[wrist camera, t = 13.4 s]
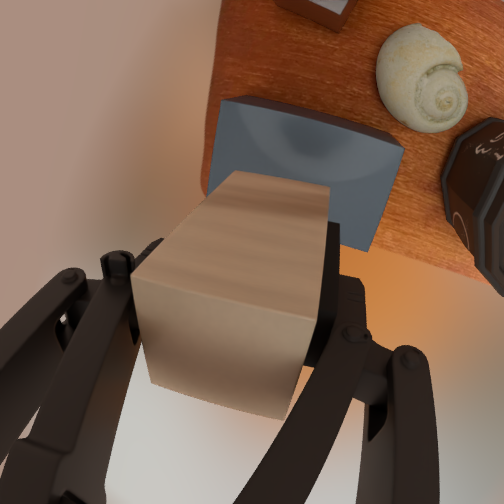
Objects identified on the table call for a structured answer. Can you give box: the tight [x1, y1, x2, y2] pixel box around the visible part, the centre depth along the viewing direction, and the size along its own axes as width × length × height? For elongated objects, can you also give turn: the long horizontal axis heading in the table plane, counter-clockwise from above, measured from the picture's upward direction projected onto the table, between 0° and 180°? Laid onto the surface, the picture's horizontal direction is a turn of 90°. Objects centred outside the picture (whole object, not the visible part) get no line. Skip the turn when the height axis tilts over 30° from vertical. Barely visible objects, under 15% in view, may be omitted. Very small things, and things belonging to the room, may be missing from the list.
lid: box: [206, 99, 405, 252], centre depth 31 cm, size 12×18×1 cm, turn 80°
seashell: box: [376, 23, 468, 133], centre depth 27 cm, size 13×8×10 cm
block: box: [130, 170, 330, 420], centre depth 13 cm, size 5×5×10 cm
